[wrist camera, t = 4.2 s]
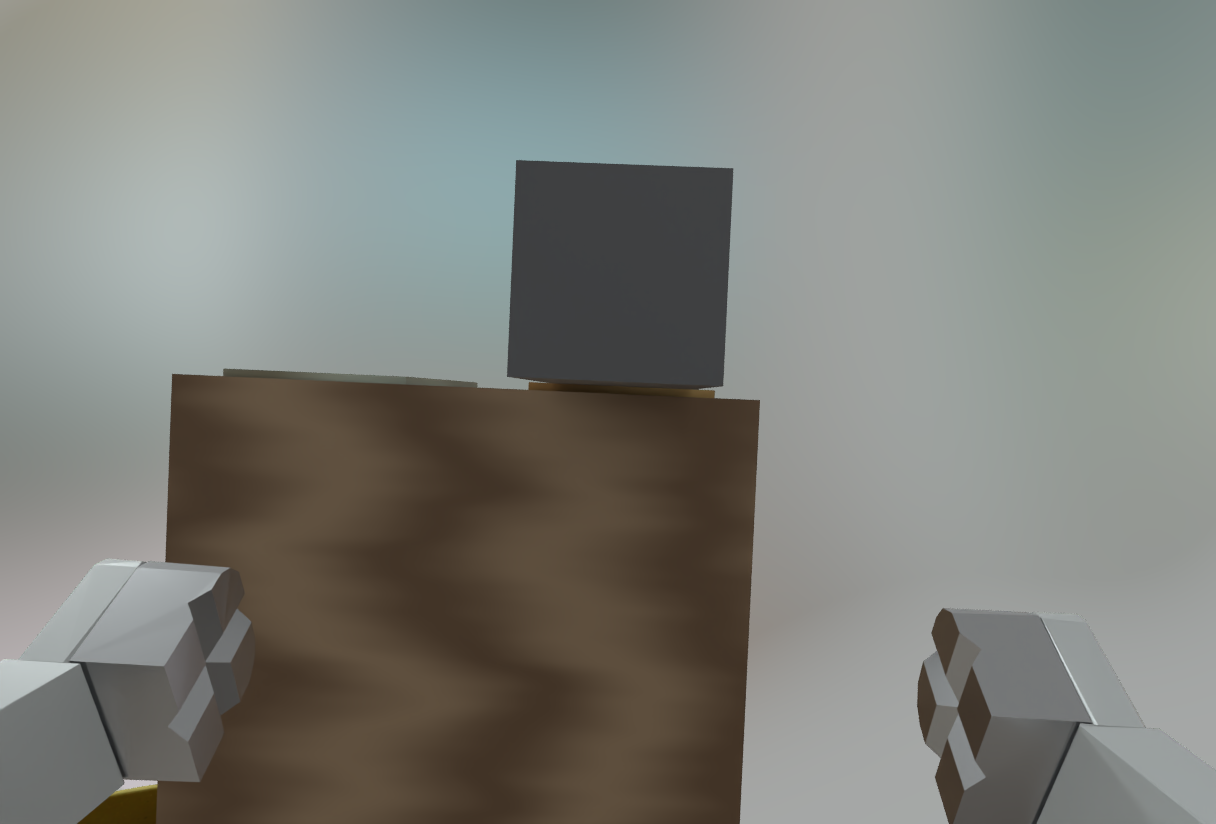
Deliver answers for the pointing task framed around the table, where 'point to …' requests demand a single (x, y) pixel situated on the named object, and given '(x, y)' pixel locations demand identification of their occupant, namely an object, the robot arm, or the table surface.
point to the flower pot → (126, 807)
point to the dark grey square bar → (620, 274)
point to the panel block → (471, 598)
